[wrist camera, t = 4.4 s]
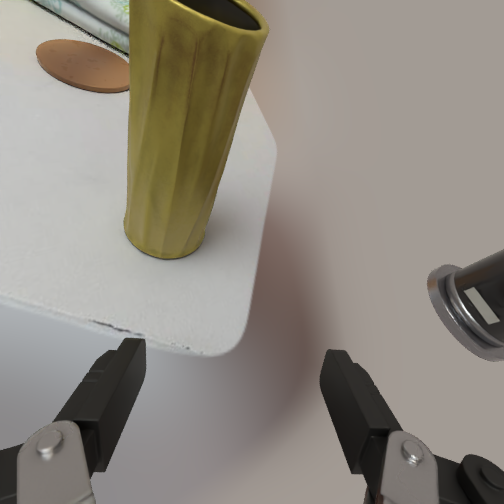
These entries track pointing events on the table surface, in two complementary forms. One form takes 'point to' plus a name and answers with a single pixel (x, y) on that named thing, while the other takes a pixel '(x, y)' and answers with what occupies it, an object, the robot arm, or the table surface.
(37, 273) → the table surface
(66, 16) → the towel
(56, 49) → the coaster
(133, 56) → the vase
